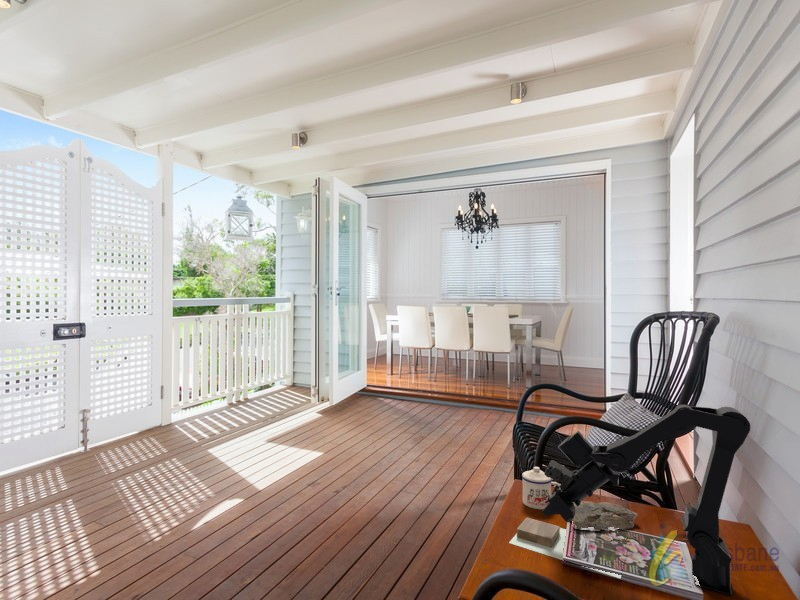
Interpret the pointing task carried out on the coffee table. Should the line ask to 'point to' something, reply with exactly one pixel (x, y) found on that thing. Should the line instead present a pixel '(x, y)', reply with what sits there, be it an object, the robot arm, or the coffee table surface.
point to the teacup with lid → (536, 488)
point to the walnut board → (538, 532)
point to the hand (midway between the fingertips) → (543, 513)
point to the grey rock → (603, 515)
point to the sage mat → (551, 549)
